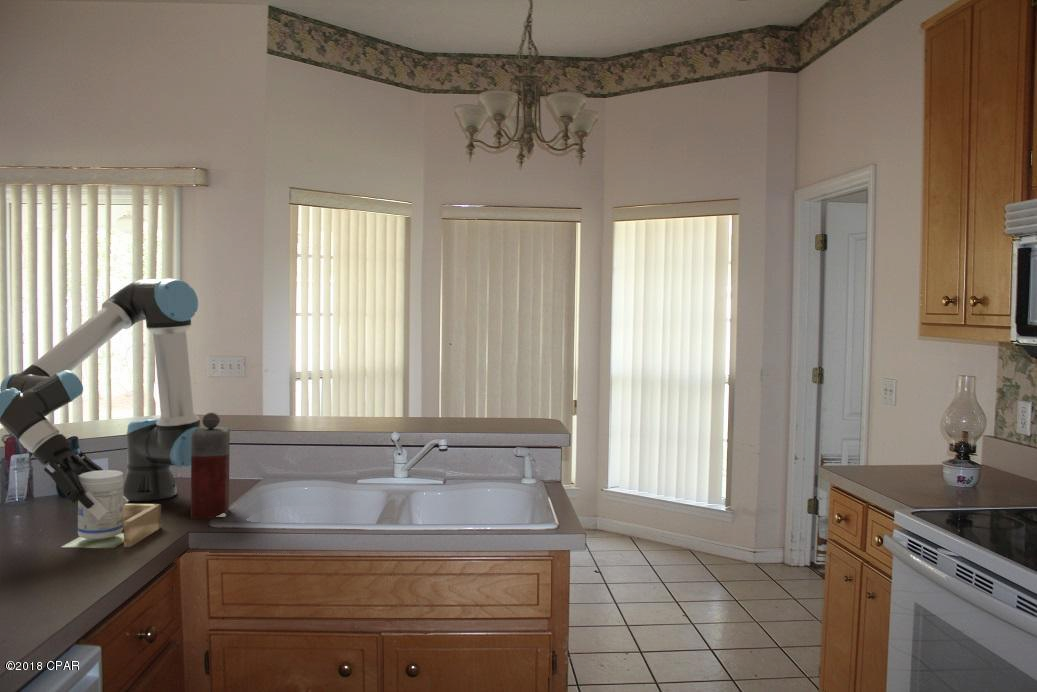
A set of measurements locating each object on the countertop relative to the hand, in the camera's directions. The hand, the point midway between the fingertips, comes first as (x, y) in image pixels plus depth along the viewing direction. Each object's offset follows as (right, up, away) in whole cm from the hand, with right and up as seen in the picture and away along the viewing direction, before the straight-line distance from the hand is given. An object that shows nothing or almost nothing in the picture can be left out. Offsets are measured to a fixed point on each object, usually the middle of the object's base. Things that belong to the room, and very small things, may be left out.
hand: (114, 510), depth 181 cm
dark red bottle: (+12, -7, +27) cm, 31 cm away
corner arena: (-2, -7, +3) cm, 8 cm away
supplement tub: (-3, -6, 0) cm, 7 cm away
